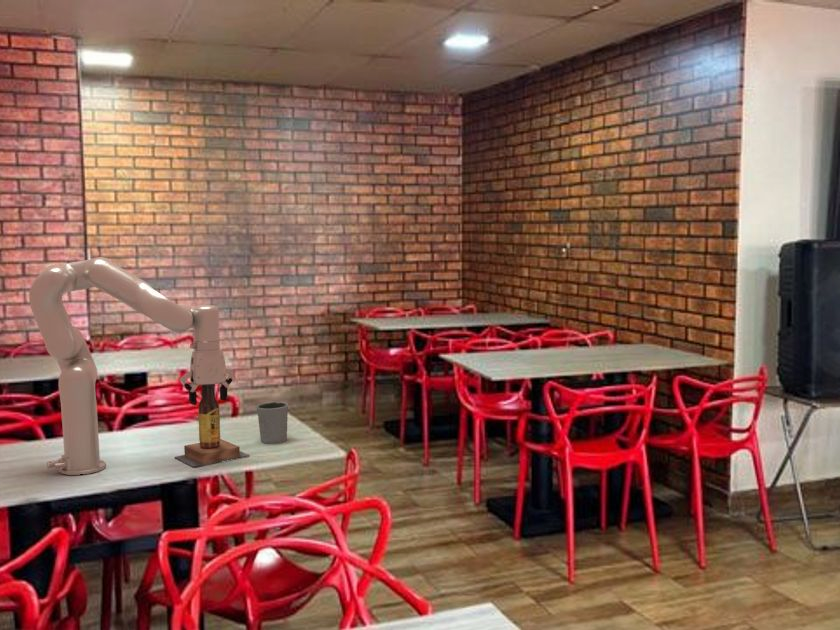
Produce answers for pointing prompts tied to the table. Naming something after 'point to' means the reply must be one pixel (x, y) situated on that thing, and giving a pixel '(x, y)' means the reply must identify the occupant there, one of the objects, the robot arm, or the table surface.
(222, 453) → the brown block with base
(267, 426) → the grey cup
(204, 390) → the sauce bottle
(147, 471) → the table surface
